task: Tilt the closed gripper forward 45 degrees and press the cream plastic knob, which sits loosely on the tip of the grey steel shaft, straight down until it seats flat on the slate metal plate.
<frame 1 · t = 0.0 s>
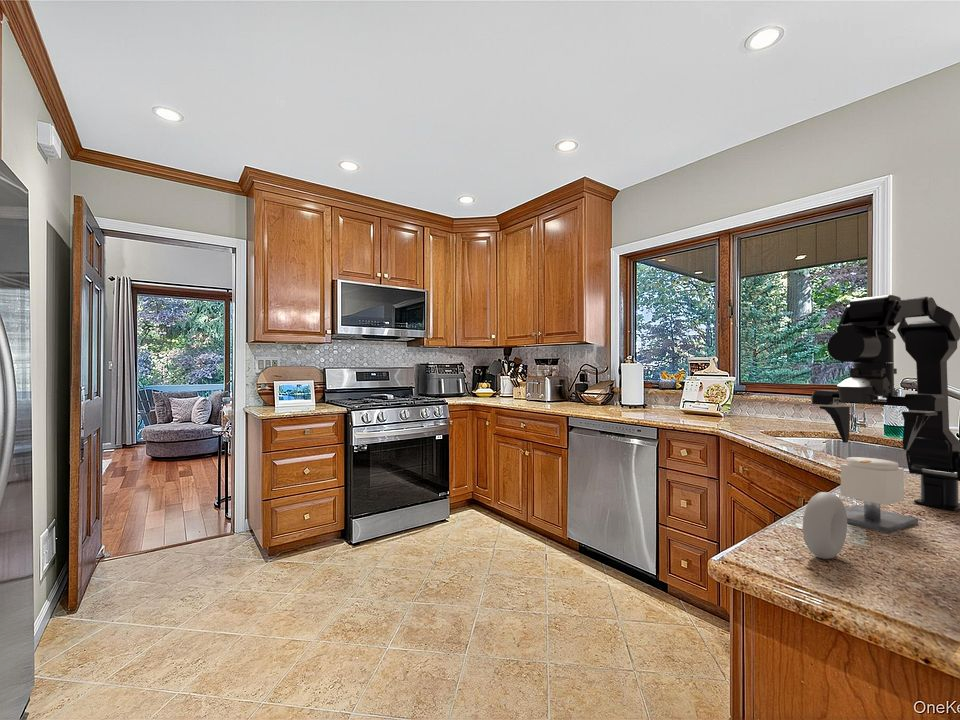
hand: (874, 446, 85), 15 cm above the countertop, tool pointing down, fingers open, 9 cm apart
knob: (871, 478, 87), point 8 cm above the countertop, slide at 3.5 cm
donut: (825, 559, 70), on the countertop
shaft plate: (871, 520, 87), on the countertop
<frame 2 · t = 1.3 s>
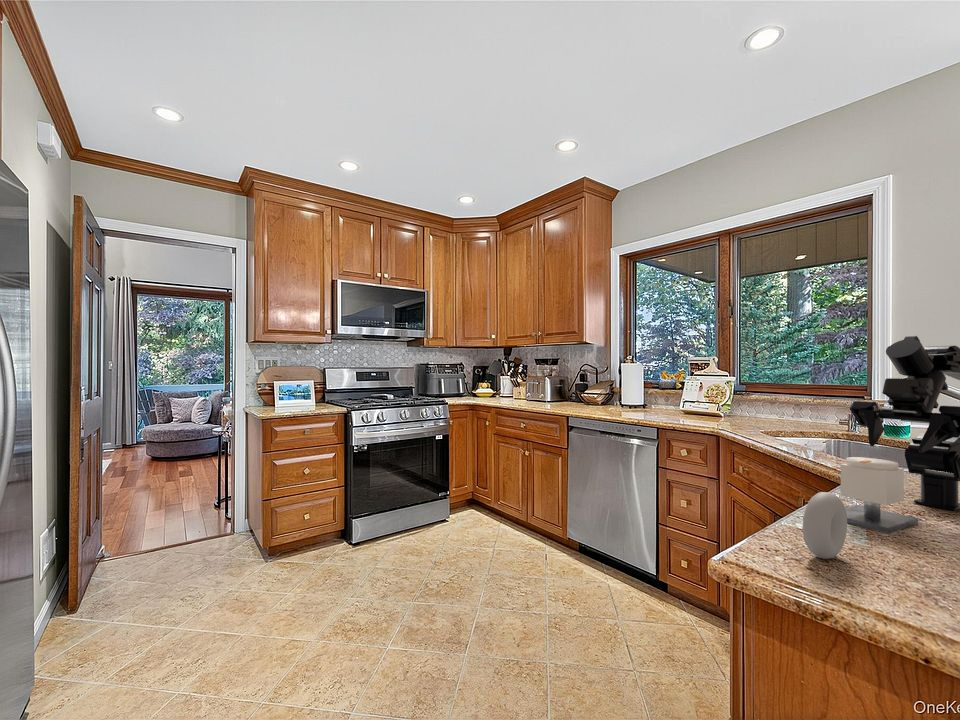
hand: (894, 447, 91), 13 cm above the countertop, tool tilted 45°, fingers open, 8 cm apart
nothing on the countertop moved.
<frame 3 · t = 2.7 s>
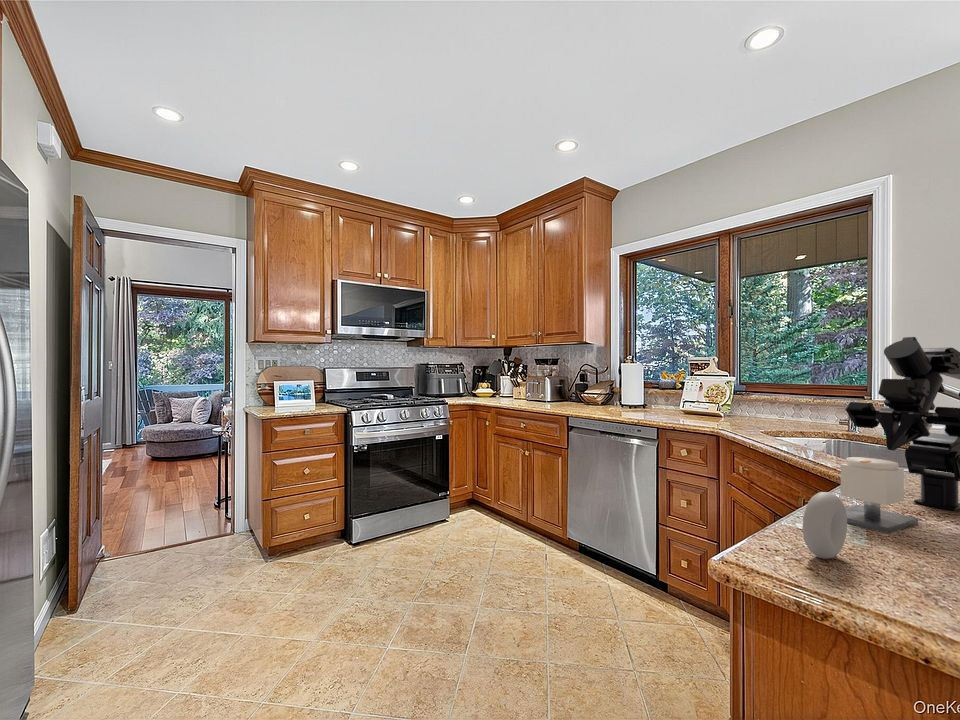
hand: (889, 448, 90), 13 cm above the countertop, tool tilted 45°, fingers closed
nothing on the countertop moved.
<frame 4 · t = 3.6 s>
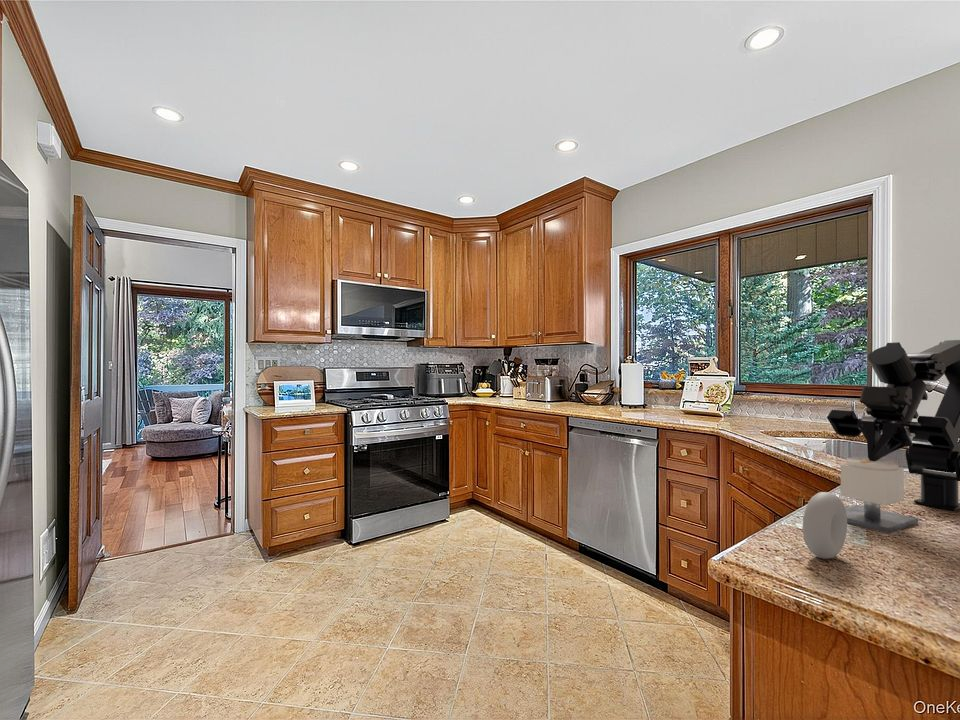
hand: (871, 459, 87), 12 cm above the countertop, tool tilted 45°, fingers closed, pressing on knob
knob: (871, 479, 87), point 8 cm above the countertop, slide at 3.5 cm, touching gripper
everything else where it was.
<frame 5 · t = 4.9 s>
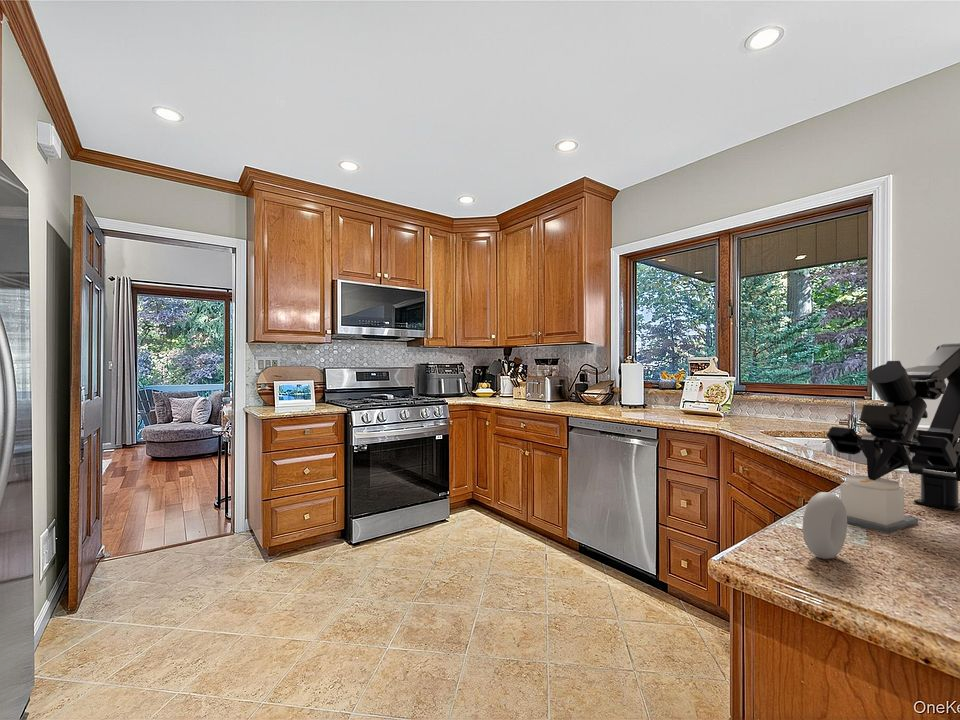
hand: (871, 478, 87), 8 cm above the countertop, tool tilted 45°, fingers closed, pressing on knob
knob: (871, 497, 86), point 5 cm above the countertop, slide at -0.1 cm, touching gripper, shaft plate
everything else where it was.
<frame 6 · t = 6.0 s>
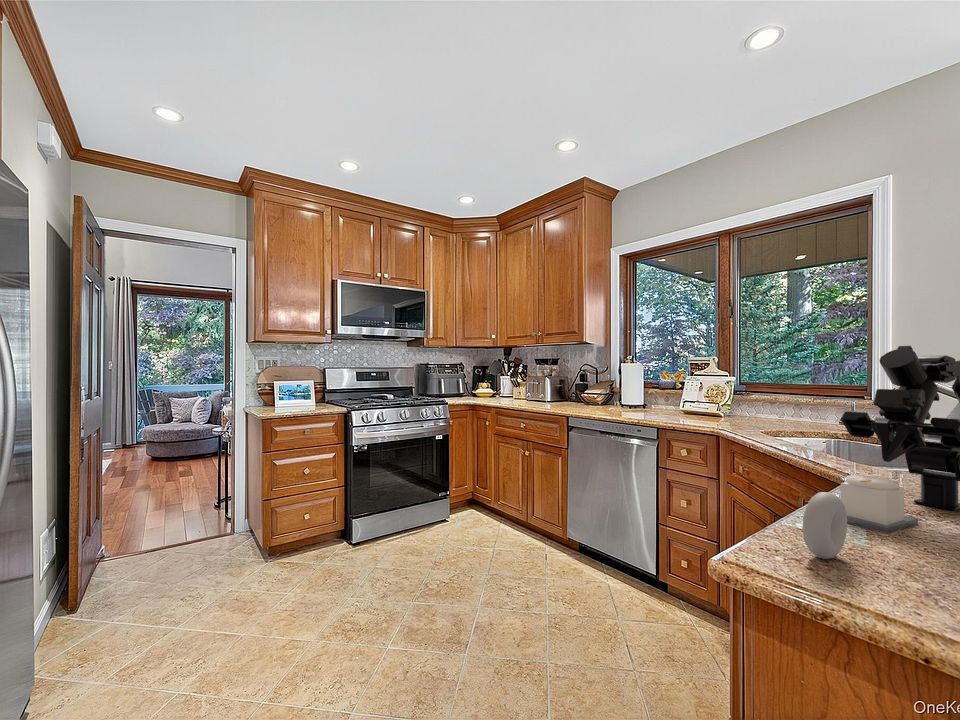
hand: (885, 460, 89), 11 cm above the countertop, tool tilted 45°, fingers closed
knob: (871, 497, 86), point 5 cm above the countertop, slide at -0.1 cm, touching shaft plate
everything else where it was.
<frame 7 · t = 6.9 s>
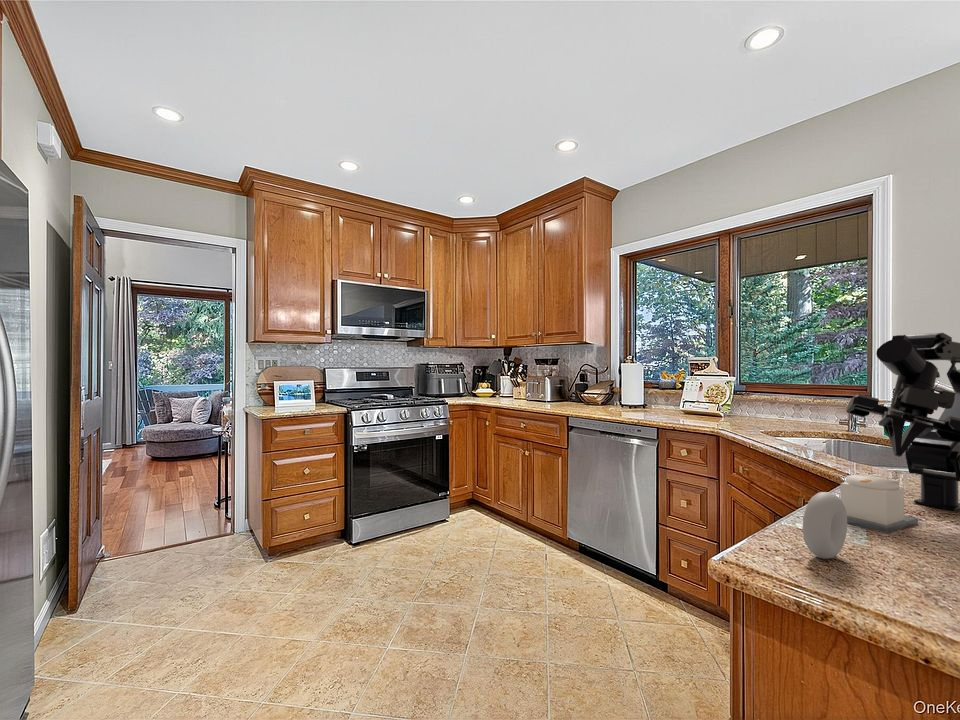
hand: (898, 455, 91), 12 cm above the countertop, tool tilted 30°, fingers closed
nothing on the countertop moved.
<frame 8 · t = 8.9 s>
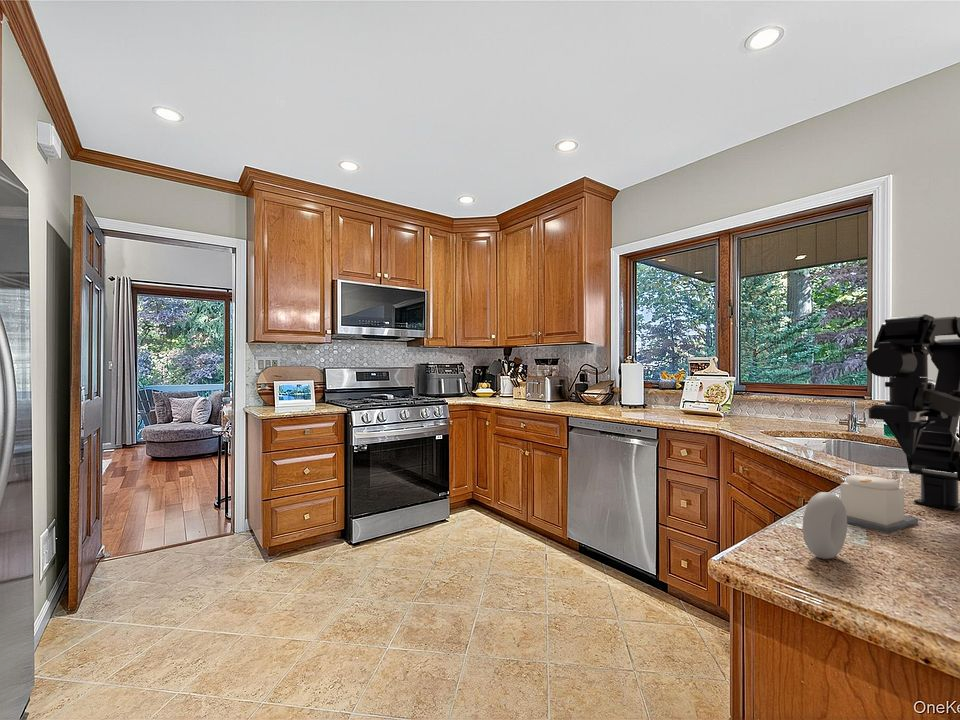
hand: (909, 454, 92), 12 cm above the countertop, tool pointing down, fingers closed
nothing on the countertop moved.
at the end: knob slide at -0.1 cm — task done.
